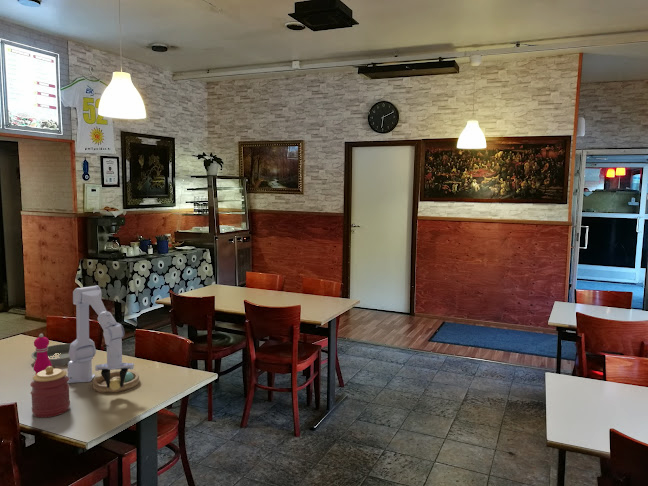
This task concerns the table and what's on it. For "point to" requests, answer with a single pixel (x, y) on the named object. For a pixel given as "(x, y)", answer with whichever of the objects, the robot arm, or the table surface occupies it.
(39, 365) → the pepper mill
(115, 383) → the bead ochre
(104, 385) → the groove tray
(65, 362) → the cake pan
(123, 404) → the table surface
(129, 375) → the bead teal
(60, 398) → the canister
